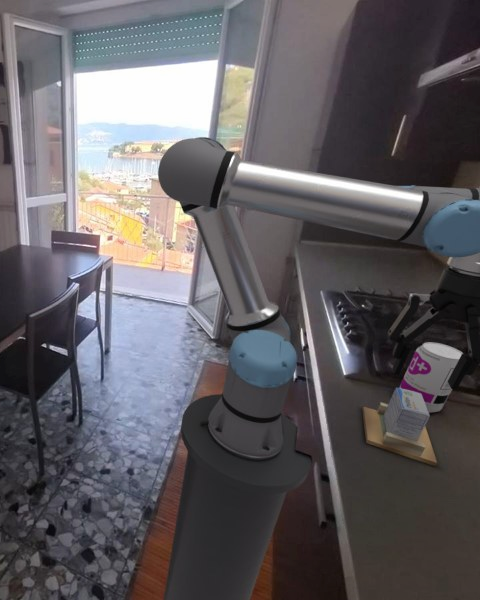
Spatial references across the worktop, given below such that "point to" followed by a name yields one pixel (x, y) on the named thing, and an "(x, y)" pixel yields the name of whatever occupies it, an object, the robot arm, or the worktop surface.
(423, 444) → the mount pad
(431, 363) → the supplement can
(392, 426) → the medicine box
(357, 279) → the worktop surface
